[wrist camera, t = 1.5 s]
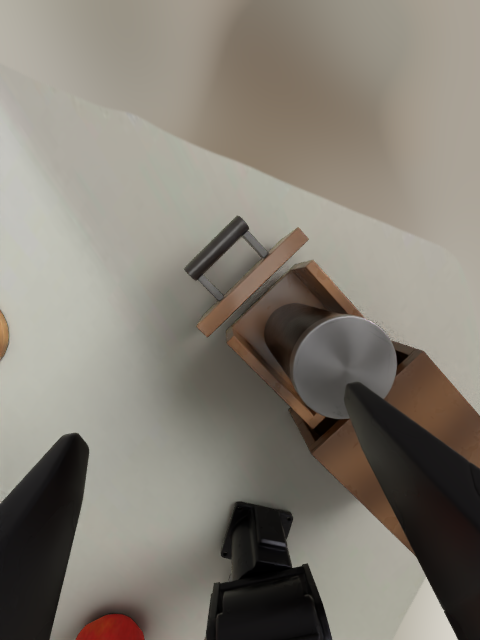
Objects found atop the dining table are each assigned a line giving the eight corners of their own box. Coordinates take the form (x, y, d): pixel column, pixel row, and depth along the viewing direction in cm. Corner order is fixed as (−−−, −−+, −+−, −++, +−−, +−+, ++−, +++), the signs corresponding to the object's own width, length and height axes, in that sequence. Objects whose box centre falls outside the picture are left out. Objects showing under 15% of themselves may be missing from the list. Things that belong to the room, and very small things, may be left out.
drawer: (171, 287, 26) (157, 288, 20) (252, 207, 25) (261, 184, 20) (289, 405, 28) (307, 436, 22) (366, 333, 28) (404, 347, 22)
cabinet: (288, 409, 29) (311, 454, 21) (370, 333, 28) (423, 350, 21) (370, 491, 31) (417, 558, 23) (448, 420, 30) (523, 465, 23)
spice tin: (313, 369, 26) (377, 430, 16) (255, 354, 26) (279, 405, 15) (332, 311, 26) (412, 332, 15) (273, 294, 25) (312, 302, 14)
